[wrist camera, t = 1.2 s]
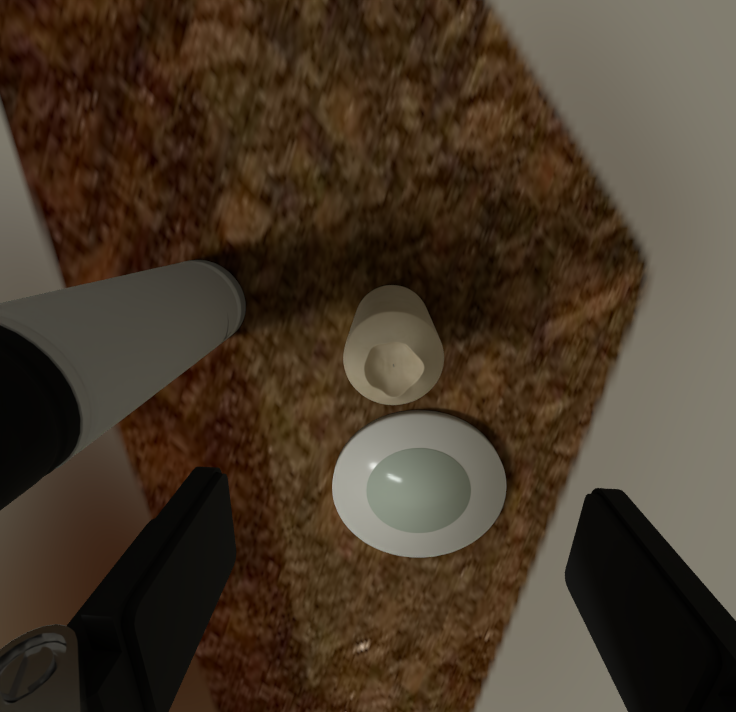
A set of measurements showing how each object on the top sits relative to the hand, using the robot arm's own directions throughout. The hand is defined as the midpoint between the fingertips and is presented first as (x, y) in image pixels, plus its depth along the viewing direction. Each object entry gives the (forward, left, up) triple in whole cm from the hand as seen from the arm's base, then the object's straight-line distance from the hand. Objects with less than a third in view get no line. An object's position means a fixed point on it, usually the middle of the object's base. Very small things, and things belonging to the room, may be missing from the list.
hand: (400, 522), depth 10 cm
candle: (0, 0, -20) cm, 20 cm away
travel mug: (-1, -14, -20) cm, 25 cm away
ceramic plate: (+15, +3, -20) cm, 25 cm away
